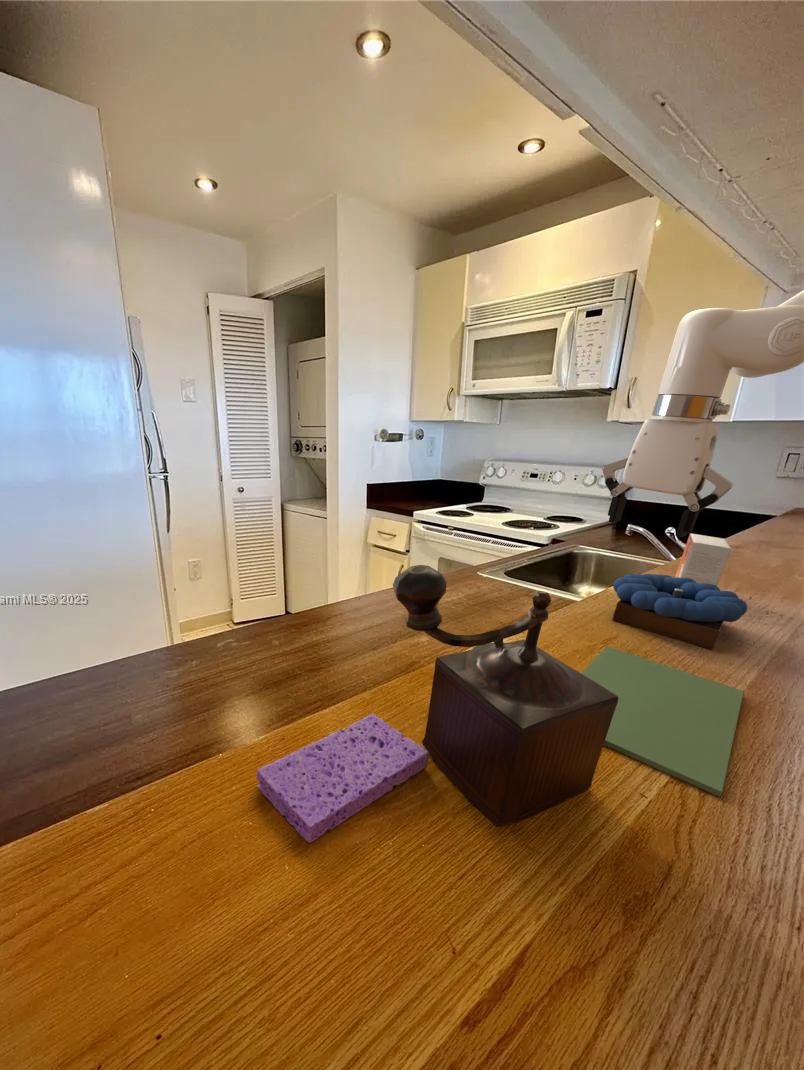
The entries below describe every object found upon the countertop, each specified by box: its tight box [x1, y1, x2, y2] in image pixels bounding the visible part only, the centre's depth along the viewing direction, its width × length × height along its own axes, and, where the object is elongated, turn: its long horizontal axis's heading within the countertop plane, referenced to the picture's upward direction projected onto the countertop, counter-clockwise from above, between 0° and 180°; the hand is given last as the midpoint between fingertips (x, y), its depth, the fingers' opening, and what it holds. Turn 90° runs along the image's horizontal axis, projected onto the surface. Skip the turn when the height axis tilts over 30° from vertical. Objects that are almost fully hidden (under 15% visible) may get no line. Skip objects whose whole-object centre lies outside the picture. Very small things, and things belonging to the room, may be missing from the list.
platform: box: [611, 588, 724, 651], centre depth 73 cm, size 13×13×6 cm
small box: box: [674, 533, 732, 587], centre depth 85 cm, size 8×6×10 cm
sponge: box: [256, 713, 429, 843], centre depth 39 cm, size 7×13×2 cm, turn 131°
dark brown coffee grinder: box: [392, 564, 618, 828], centre depth 37 cm, size 16×11×18 cm
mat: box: [580, 645, 745, 798], centre depth 52 cm, size 22×15×1 cm
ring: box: [612, 573, 748, 623], centre depth 73 cm, size 18×15×3 cm
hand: (645, 528), depth 74 cm, fingers open, 9 cm apart
